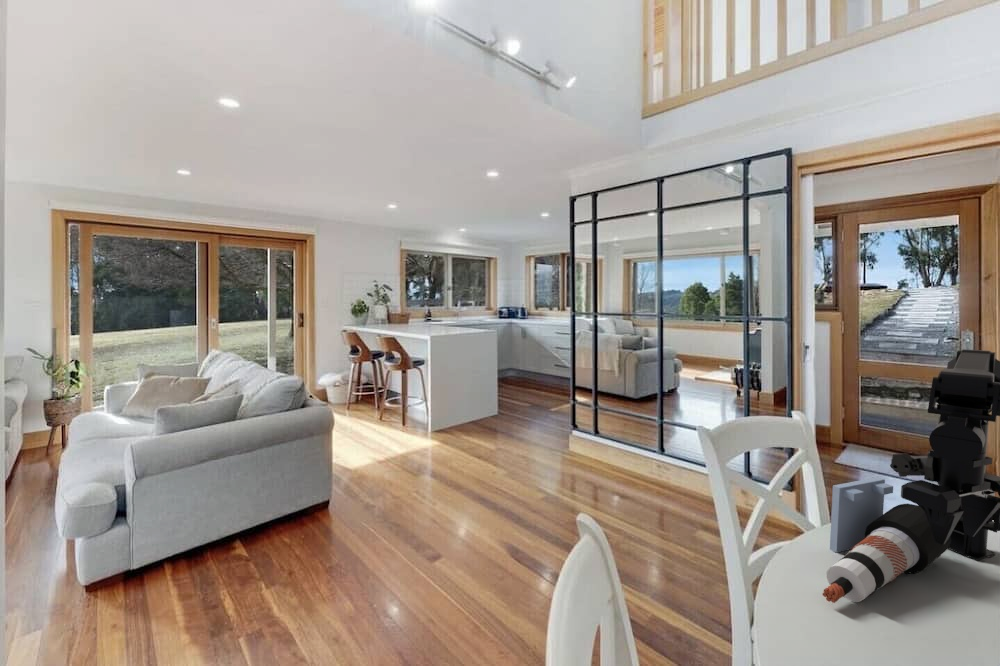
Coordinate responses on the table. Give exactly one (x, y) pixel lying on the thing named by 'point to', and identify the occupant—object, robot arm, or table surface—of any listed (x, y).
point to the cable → (885, 554)
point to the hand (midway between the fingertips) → (954, 539)
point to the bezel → (855, 510)
